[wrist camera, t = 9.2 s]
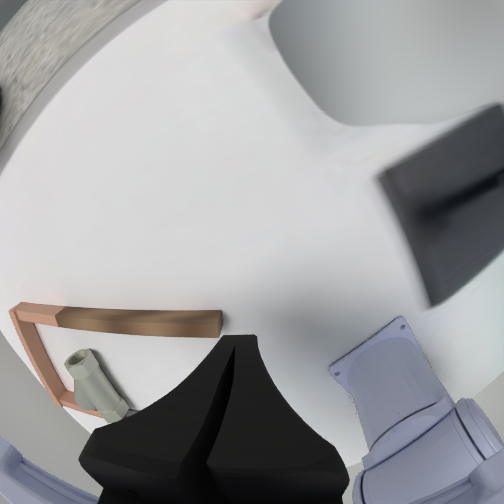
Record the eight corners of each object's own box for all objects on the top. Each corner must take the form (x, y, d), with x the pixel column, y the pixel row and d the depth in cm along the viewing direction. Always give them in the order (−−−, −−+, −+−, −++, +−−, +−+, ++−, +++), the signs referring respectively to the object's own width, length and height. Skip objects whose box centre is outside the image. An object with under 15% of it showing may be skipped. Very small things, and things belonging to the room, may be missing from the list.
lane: (221, 310, 20) (216, 323, 19) (244, 449, 26) (243, 462, 24) (65, 306, 21) (54, 315, 20) (128, 435, 27) (123, 445, 25)
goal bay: (65, 306, 21) (52, 317, 19) (111, 407, 26) (103, 421, 23) (20, 302, 22) (8, 310, 20) (64, 394, 26) (56, 405, 24)
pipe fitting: (95, 398, 26) (133, 402, 25) (81, 417, 23) (119, 425, 21) (62, 347, 24) (96, 347, 23) (43, 366, 20) (76, 369, 19)
